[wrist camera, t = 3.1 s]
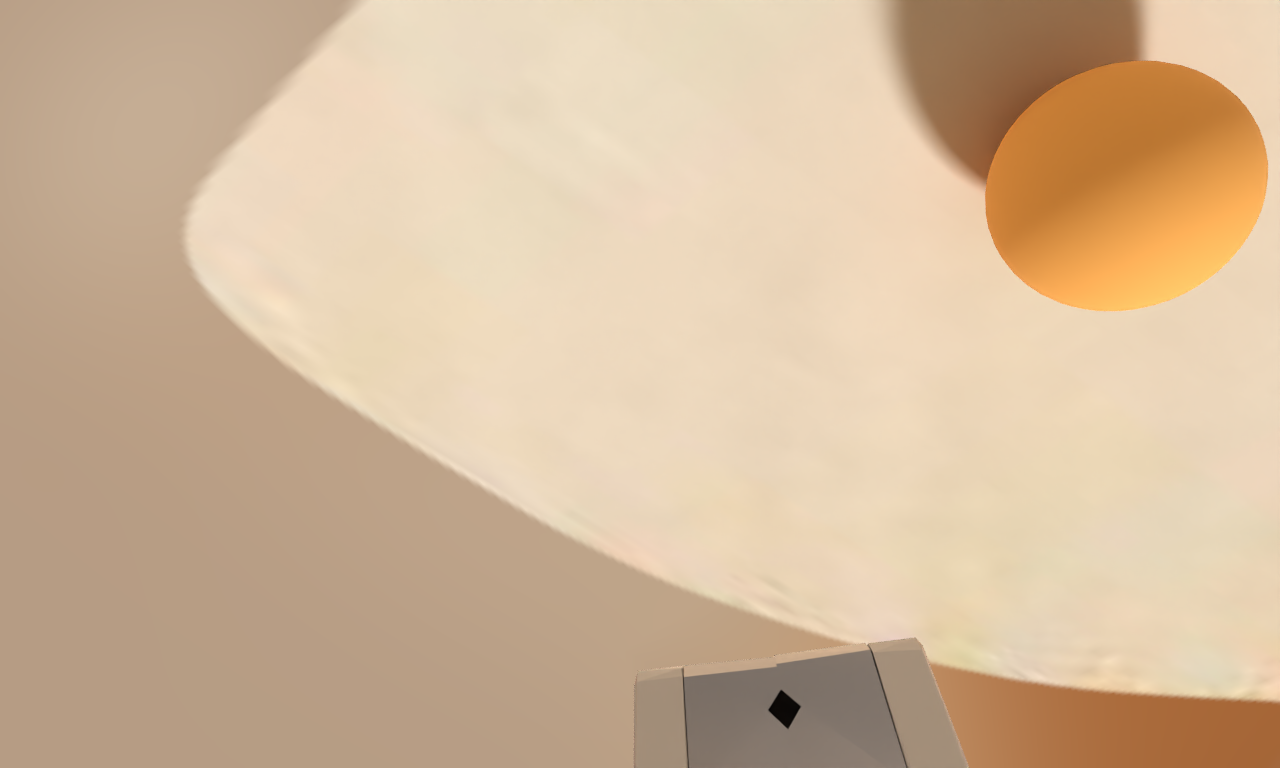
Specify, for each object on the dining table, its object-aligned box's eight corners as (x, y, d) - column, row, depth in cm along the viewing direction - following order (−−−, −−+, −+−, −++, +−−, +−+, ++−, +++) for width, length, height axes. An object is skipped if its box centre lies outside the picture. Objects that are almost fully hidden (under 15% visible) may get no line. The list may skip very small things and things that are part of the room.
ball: (1191, 22, 19) (1369, 62, 15) (1158, 239, 22) (1300, 331, 17) (955, 65, 20) (1053, 118, 15) (951, 272, 23) (1034, 372, 18)
